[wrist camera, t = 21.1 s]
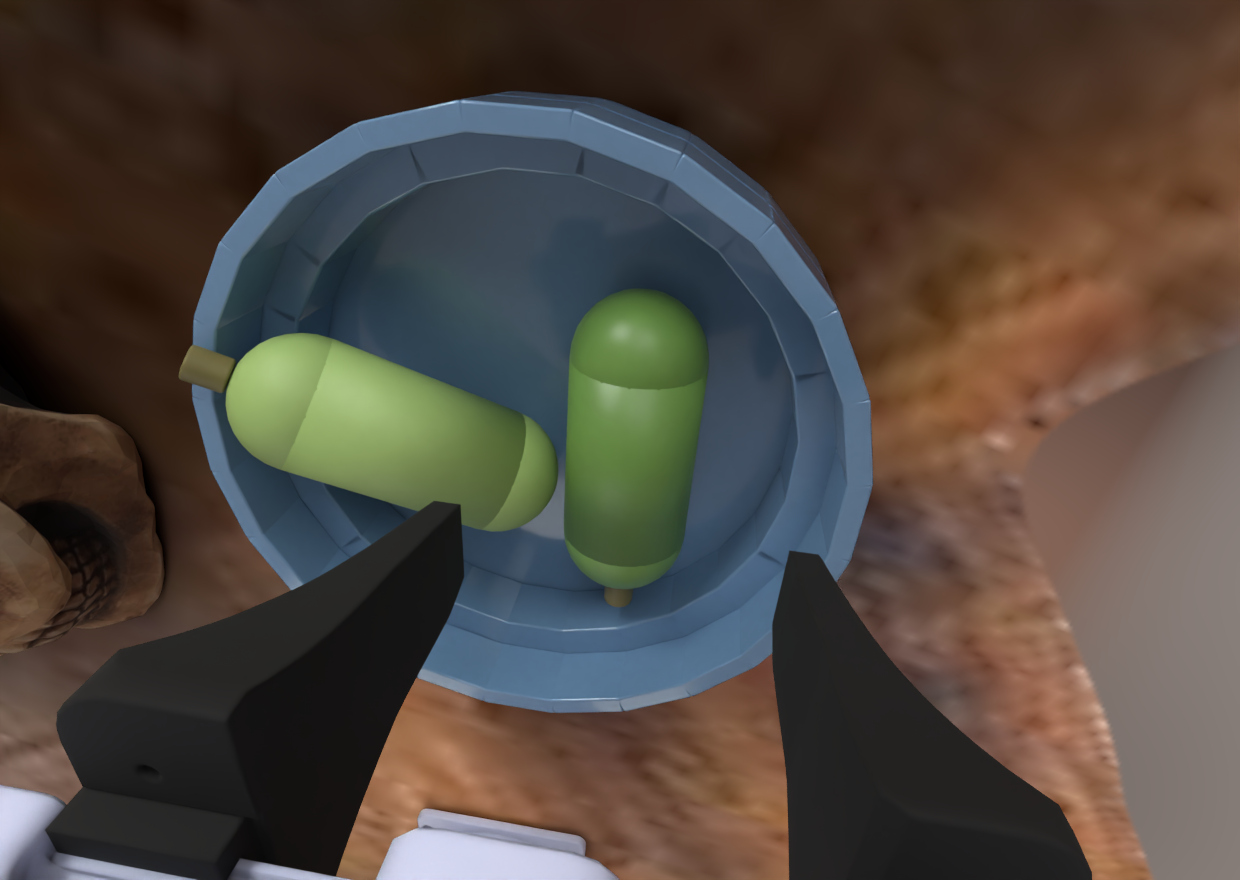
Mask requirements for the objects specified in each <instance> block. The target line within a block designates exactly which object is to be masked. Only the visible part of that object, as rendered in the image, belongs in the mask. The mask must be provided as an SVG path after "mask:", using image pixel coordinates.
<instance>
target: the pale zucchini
mask: <svg viewBox="0 0 1240 880" xmlns="http://www.w3.org/2000/svg"><path fill="white" fill-rule="evenodd" d="M235 365H236V360H235V359H233V358H230V357H228V356H225V355H222V354H219V353H216V352H214V351H211V350H208V349H205V348H202V347H200V346H197V345H192V346H191V347H190V348H189V350H188V352H187V354H186V356H185V358H184V360H183V363H182V366H181V368H180V371H179V379H181V380H183V381H186V382H189V383H192V384H195V385H198V386H201V387H204V388H207V389H209V390H212V391H215V392H218V393H223V392H224V391H225V390H226V387H227V390H226V411H227V417H228V421H229V423H230V426H231V428H232V430H233V433H234V434H235V436H236V437H237V439H238V440H239V442H240V443H241V445H242V446H243V447H244V448H245V449H246V450H247V451H249V452H250V453H251V454H252V455H253V456H254V457H256V458H257V459H259V460H260V461H262V462H264V463H265V464H267V465H270V466H272V467H275V468H277V469H280V470H283V471H286V472H289V473H293V474H296V475H299V476H303V477H306V478H309V479H313V480H316V481H319V482H323V483H326V484H329V485H333V486H336V487H339V488H343V489H346V490H349V491H353V492H356V493H359V494H362V495H366V496H369V497H372V498H376V499H379V500H382V501H386V502H389V503H392V504H396V505H399V506H402V507H406V508H409V509H412V510H416V511H420V510H421V509H423V508H424V507H426V506H427V505H429V504H430V503H432V502H433V501H439V502H447V503H454V504H461V521H462V525H465V526H469V527H472V528H475V529H480V530H486V531H491V532H495V531H507V530H511V529H515V528H518V527H520V526H522V525H524V524H527V523H528V522H530V521H531V520H533V519H534V518H535V517H536V516H538V515H539V514H540V513H541V512H542V511H543V510H544V508H545V507H546V506H547V504H548V503H549V501H550V500H551V498H552V496H553V494H554V492H555V489H556V485H557V481H558V459H557V454H556V450H555V448H554V445H553V443H552V441H551V439H550V437H549V436H548V435H547V434H546V432H545V431H544V430H543V429H542V427H541V426H540V425H539V424H537V423H536V422H535V421H534V420H533V419H531V418H530V417H528V416H526V415H524V414H522V413H520V412H518V411H515V410H512V409H510V408H507V407H505V406H502V405H500V404H497V403H495V402H492V401H490V400H487V399H485V398H482V397H480V396H477V395H474V394H472V393H469V392H467V391H464V390H462V389H459V388H457V387H454V386H452V385H449V384H447V383H444V382H441V381H439V380H436V379H434V378H431V377H429V376H426V375H424V374H421V373H419V372H416V371H414V370H411V369H409V368H406V367H403V366H401V365H398V364H396V363H393V362H391V361H388V360H386V359H383V358H381V357H378V356H376V355H373V354H371V353H368V352H365V351H363V350H360V349H358V348H355V347H353V346H350V345H348V344H345V343H343V342H340V341H338V340H335V339H332V338H328V337H325V336H322V335H318V334H310V333H291V334H284V335H281V336H277V337H273V338H271V339H268V340H266V341H264V342H262V343H260V344H258V345H257V346H256V347H254V348H253V349H252V350H250V351H249V352H248V353H246V355H245V356H244V357H243V358H242V359H241V360H240V362H239V363H238V364H237V365H236V367H235ZM234 368H235V369H234ZM227 385H228V386H227Z"/></svg>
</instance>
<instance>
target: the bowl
mask: <svg viewBox="0 0 1240 880" xmlns="http://www.w3.org/2000/svg"><path fill="white" fill-rule="evenodd" d="M635 288H641V289H652V290H657V291H661V292H664V293H666V294H668V295H670V296H672V297H674V298H675V299H677V300H679V301H680V302H682V303H683V304H684V305H685V306H686V307H687V308H688V309H689V310H690V311H692V313H693V314H694V316H695V317H696V319H697V320H698V322H699V323H700V325H701V326H702V329H703V331H704V334H705V336H706V340H707V345H708V351H709V369H708V375H707V382H706V389H705V396H704V403H703V410H702V417H701V424H700V431H699V438H698V445H697V452H696V459H695V466H694V473H693V480H692V487H691V494H690V501H689V508H688V515H687V522H686V529H685V537H684V541H683V544H682V547H681V551H680V554H679V555H678V557H677V559H676V561H675V562H674V564H673V565H672V567H671V568H670V569H669V570H668V571H667V572H666V573H665V574H664V575H662V576H661V577H660V578H659V579H657V580H655V581H653V582H652V583H650V584H648V585H645V586H642V587H639V588H634V589H633V596H632V600H631V602H630V603H629V604H628V605H627V606H624V607H613V606H611V605H609V604H608V603H607V602H606V601H605V599H604V588H605V586H603V585H601V584H598V583H597V582H595V581H593V580H592V579H590V578H589V577H588V576H586V575H585V574H584V573H583V572H582V571H580V569H579V568H578V567H577V565H576V564H575V563H574V561H573V560H572V558H571V556H570V554H569V552H568V549H567V546H566V543H565V537H564V526H563V525H564V497H565V469H566V440H567V412H568V383H569V356H570V349H571V343H572V340H573V337H574V334H575V331H576V328H577V326H578V325H579V323H580V321H581V320H582V318H583V317H584V315H585V314H586V313H587V312H588V311H589V310H590V309H591V308H592V307H593V306H594V305H595V304H596V303H597V302H599V301H601V300H602V299H604V298H605V297H607V296H609V295H611V294H614V293H617V292H620V291H623V290H626V289H635ZM291 333H310V334H318V335H322V336H325V337H328V338H332V339H335V340H338V341H340V342H343V343H345V344H348V345H350V346H353V347H355V348H358V349H360V350H363V351H365V352H368V353H371V354H373V355H376V356H378V357H381V358H383V359H386V360H388V361H391V362H393V363H396V364H398V365H401V366H403V367H406V368H409V369H411V370H414V371H416V372H419V373H421V374H424V375H426V376H429V377H431V378H434V379H436V380H439V381H441V382H444V383H447V384H449V385H452V386H454V387H457V388H459V389H462V390H464V391H467V392H469V393H472V394H474V395H477V396H480V397H482V398H485V399H487V400H490V401H492V402H495V403H497V404H500V405H502V406H505V407H507V408H510V409H512V410H515V411H518V412H520V413H522V414H524V415H526V416H528V417H530V418H531V419H533V420H534V421H535V422H536V423H537V424H539V425H540V426H541V427H542V429H543V430H544V431H545V432H546V434H547V435H548V436H549V437H550V439H551V441H552V443H553V445H554V448H555V450H556V454H557V459H558V481H557V485H556V489H555V492H554V494H553V496H552V498H551V500H550V501H549V503H548V504H547V506H546V507H545V508H544V510H543V511H542V512H541V513H540V514H539V515H538V516H536V517H535V518H534V519H533V520H531V521H530V522H528V523H527V524H524V525H522V526H520V527H518V528H515V529H511V530H507V531H495V532H491V531H486V530H480V529H475V528H472V527H469V526H465V525H462V540H463V559H464V579H463V582H462V585H461V587H460V590H459V593H458V596H457V598H456V601H455V603H454V606H453V609H452V611H451V614H450V616H449V618H448V620H447V622H446V624H445V626H444V628H443V629H442V631H441V633H440V635H439V637H438V639H437V641H436V643H435V644H434V646H433V648H432V650H431V652H430V654H429V656H428V657H427V659H426V661H425V663H424V665H423V667H422V668H421V670H420V672H419V674H418V676H417V678H418V679H421V680H424V681H427V682H430V683H433V684H435V685H438V686H441V687H444V688H447V689H450V690H452V691H455V692H458V693H461V694H464V695H467V696H470V697H472V698H475V699H478V700H481V701H483V700H484V701H485V702H489V703H495V704H501V705H507V706H513V707H519V708H525V709H531V710H537V711H543V712H549V713H553V712H554V713H586V712H622V711H623V710H624V711H630V710H634V709H639V708H643V707H648V706H652V705H657V704H661V703H666V702H670V701H675V700H679V699H684V698H688V697H691V696H695V695H697V694H699V693H701V692H703V691H706V690H708V689H710V688H712V687H714V686H716V685H718V684H720V683H723V682H725V681H727V680H729V679H731V678H733V677H735V676H737V675H740V674H742V673H744V672H746V671H748V670H750V669H752V668H754V667H756V666H757V665H758V664H760V663H761V662H762V661H763V660H765V659H766V658H767V657H768V656H769V655H771V654H772V622H773V618H774V613H775V609H776V605H777V601H778V597H779V592H780V588H781V584H782V580H783V575H784V571H785V567H786V563H787V559H788V554H789V550H790V551H797V552H804V553H811V554H819V556H820V557H821V558H822V560H823V561H824V563H825V565H826V566H827V568H828V570H829V571H830V573H831V575H832V576H833V578H834V580H835V581H836V582H837V580H838V579H839V577H840V576H841V575H842V573H843V572H844V570H845V569H846V567H847V566H848V564H849V562H850V560H851V558H852V555H853V552H854V548H855V545H856V542H857V538H858V535H859V531H860V528H861V525H862V521H863V518H864V515H865V511H866V508H867V504H868V501H869V498H870V494H871V491H872V485H873V461H872V427H871V401H870V398H869V397H870V396H869V393H868V390H867V387H866V385H865V382H864V379H863V376H862V373H861V371H860V368H859V365H858V362H857V359H856V356H855V354H854V351H853V348H852V345H851V342H850V339H849V337H848V334H847V331H846V328H845V325H844V323H843V320H842V317H841V314H840V311H839V309H838V306H837V304H836V302H835V299H834V297H833V295H832V292H831V290H830V287H829V285H828V283H827V281H826V278H825V276H824V273H823V271H822V269H821V266H820V264H819V262H818V260H817V258H816V257H815V255H814V254H813V253H812V251H811V250H810V248H809V247H808V246H807V244H806V243H805V242H804V240H803V239H802V238H801V236H800V235H799V233H798V232H797V231H796V229H795V228H794V227H793V225H792V224H791V222H790V221H789V220H788V218H787V217H786V216H785V214H784V213H783V212H782V210H781V209H780V207H779V206H778V205H777V203H776V202H775V201H774V199H773V198H772V197H771V195H770V194H769V192H768V191H765V190H764V188H763V187H762V186H761V185H760V184H758V183H757V182H756V181H754V180H753V179H752V178H751V177H749V176H748V175H747V174H745V173H744V172H743V171H741V170H740V169H739V168H738V167H736V166H735V165H734V164H732V163H731V162H730V161H729V160H727V159H726V158H725V157H723V156H722V155H721V154H719V153H718V152H717V151H716V150H714V149H713V148H712V147H710V146H709V145H708V144H706V143H705V142H704V141H703V140H701V139H700V138H699V137H697V136H696V135H692V136H691V133H690V132H689V131H687V130H684V129H682V128H679V127H677V126H674V125H671V124H669V123H666V122H664V121H661V120H659V119H656V118H654V117H651V116H649V115H646V114H644V113H641V112H638V111H636V110H633V109H631V108H628V107H626V106H623V105H621V104H618V103H616V102H613V101H610V100H604V99H602V98H594V97H583V96H571V95H559V94H548V93H536V92H524V91H513V92H512V91H508V92H502V93H496V94H490V95H484V96H478V97H471V98H465V99H459V100H454V101H449V102H445V103H440V104H436V105H431V106H427V107H422V108H418V109H413V110H409V111H405V112H400V113H396V114H391V115H387V116H382V117H378V118H373V119H369V120H364V121H360V122H358V123H355V124H352V125H351V126H349V127H348V128H346V129H344V130H343V131H341V132H339V133H338V134H336V135H335V136H333V137H331V138H330V139H328V140H326V141H325V142H323V143H321V144H320V145H318V146H317V147H315V148H313V149H312V150H310V151H308V152H307V153H305V154H304V155H302V156H300V157H299V158H297V159H295V160H294V161H292V162H291V163H289V164H287V165H286V166H284V167H282V168H281V169H279V170H278V171H276V173H275V174H273V175H272V176H271V178H270V179H269V180H268V181H267V183H266V184H265V185H264V186H263V188H262V189H261V190H260V192H259V193H258V194H257V195H256V197H255V198H254V199H253V200H252V202H251V203H250V204H249V205H248V207H247V208H246V209H245V210H244V212H243V213H242V214H241V215H240V217H239V218H238V219H237V220H236V222H235V223H234V224H233V225H232V227H231V228H230V229H229V230H228V232H227V233H226V234H225V235H224V237H223V238H222V240H221V242H220V243H219V244H218V247H217V250H216V253H215V256H214V259H213V262H212V265H211V268H210V271H209V274H208V276H207V279H206V282H205V285H204V288H203V291H202V294H201V297H200V300H199V303H198V306H197V309H196V311H195V314H194V321H193V345H197V346H200V347H202V348H205V349H208V350H211V351H214V352H216V353H219V354H222V355H225V356H228V357H230V358H233V359H235V360H236V365H237V364H238V363H239V362H240V360H241V359H242V358H243V357H244V356H245V355H246V353H248V352H249V351H250V350H252V349H253V348H254V347H256V346H257V345H258V344H260V343H262V342H264V341H266V340H268V339H271V338H273V337H277V336H281V335H284V334H291ZM236 365H235V367H236ZM234 369H235V368H234ZM227 386H228V385H227ZM226 390H227V387H226ZM226 390H225V391H224V392H223V393H218V392H215V391H212V390H209V389H207V388H204V387H201V386H198V385H195V384H192V396H193V398H192V400H193V404H194V408H195V412H196V416H197V419H198V423H199V427H200V431H201V435H202V438H203V442H204V446H205V450H206V454H207V458H208V461H209V465H210V469H211V471H213V472H212V473H213V475H214V477H215V479H216V481H217V483H218V485H219V487H220V488H221V490H222V492H223V494H224V496H225V498H226V500H227V502H228V503H229V505H230V507H231V509H232V511H233V513H234V515H235V516H236V518H237V520H238V522H239V524H240V526H241V528H242V530H243V531H244V533H245V535H246V537H248V539H249V541H250V542H251V543H252V545H253V546H254V547H255V548H256V549H257V551H258V552H259V553H260V554H261V555H262V556H263V558H264V559H265V560H266V561H267V562H268V564H269V565H270V566H271V567H272V568H273V570H274V571H275V572H276V573H277V574H278V575H279V577H280V578H281V579H282V580H283V581H284V583H285V584H286V585H287V586H288V587H289V589H290V590H293V589H295V588H297V587H299V586H301V585H303V584H305V583H307V582H309V581H311V580H313V579H315V578H317V577H319V576H320V575H322V574H324V573H326V572H328V571H329V570H331V569H333V568H334V567H336V566H338V565H339V564H341V563H342V562H344V561H346V560H347V559H349V558H351V557H352V556H354V555H355V554H357V553H359V552H360V551H362V550H364V549H365V548H367V547H368V546H370V545H371V544H373V543H374V542H376V541H377V540H379V539H380V538H381V537H383V536H384V535H386V534H387V533H389V532H390V531H392V530H393V529H395V528H396V527H397V526H399V525H400V524H402V523H403V522H404V521H406V520H407V519H409V518H410V517H411V516H413V515H414V514H416V513H417V512H418V511H416V510H412V509H409V508H406V507H402V506H399V505H396V504H392V503H389V502H386V501H382V500H379V499H376V498H372V497H369V496H366V495H362V494H359V493H356V492H353V491H349V490H346V489H343V488H339V487H336V486H333V485H329V484H326V483H323V482H319V481H316V480H313V479H309V478H306V477H303V476H299V475H296V474H293V473H289V472H286V471H283V470H280V469H277V468H275V467H272V466H270V465H267V464H265V463H264V462H262V461H260V460H259V459H257V458H256V457H254V456H253V455H252V454H251V453H250V452H249V451H247V450H246V449H245V448H244V447H243V446H242V445H241V443H240V442H239V440H238V439H237V437H236V436H235V434H234V433H233V430H232V428H231V426H230V423H229V421H228V417H227V411H226Z"/></svg>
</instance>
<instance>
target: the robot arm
mask: <svg viewBox="0 0 1240 880" xmlns="http://www.w3.org/2000/svg"><path fill="white" fill-rule="evenodd" d="M463 579H464V559H463V540H462V521H461V504H454V503H447V502H439V501H433V502H432V503H430V504H429V505H427V506H426V507H424V508H423V509H421V510H420V511H418V512H417V513H416V514H414V515H413V516H411V517H410V518H409V519H407V520H406V521H404V522H403V523H402V524H400V525H399V526H397V527H396V528H395V529H393V530H392V531H390V532H389V533H387V534H386V535H384V536H383V537H381V538H380V539H379V540H377V541H376V542H374V543H373V544H371V545H370V546H368V547H367V548H365V549H364V550H362V551H360V552H359V553H357V554H355V555H354V556H352V557H351V558H349V559H347V560H346V561H344V562H342V563H341V564H339V565H338V566H336V567H334V568H333V569H331V570H329V571H328V572H326V573H324V574H322V575H320V576H319V577H317V578H315V579H313V580H311V581H309V582H307V583H305V584H303V585H301V586H299V587H297V588H295V589H293V590H291V591H289V592H287V593H285V594H283V595H281V596H279V597H276V598H274V599H272V600H269V601H267V602H265V603H262V604H260V605H257V606H255V607H253V608H250V609H248V610H246V611H243V612H241V613H238V614H236V615H233V616H231V617H228V618H225V619H222V620H219V621H217V622H214V623H211V624H208V625H205V626H202V627H199V628H196V629H193V630H190V631H186V632H183V633H180V634H177V635H173V636H169V637H166V638H162V639H158V640H154V641H151V642H147V643H143V644H140V645H136V646H132V647H128V648H124V649H120V650H118V651H117V652H116V653H115V654H114V655H113V656H112V657H111V658H110V659H109V660H108V661H107V662H106V663H105V664H104V665H103V666H102V667H100V668H99V669H98V670H97V671H96V672H95V673H94V674H93V675H92V676H91V677H90V678H89V679H88V680H87V681H86V682H85V683H84V684H83V685H82V686H81V687H80V688H79V689H78V690H77V691H76V692H75V693H73V694H72V695H71V696H70V697H69V698H68V699H67V700H66V701H65V702H64V703H63V705H62V706H61V708H60V709H59V711H58V712H57V722H56V726H57V731H58V734H59V738H60V741H61V743H62V745H63V747H64V749H65V751H66V753H67V755H68V757H69V760H70V762H71V764H72V766H73V768H74V770H75V772H76V774H77V776H78V778H79V780H80V782H81V784H82V786H83V788H82V789H81V790H80V791H79V792H78V793H77V794H76V795H75V797H74V798H73V799H72V800H71V801H70V802H69V803H68V804H67V805H66V804H65V803H64V802H63V801H62V800H60V799H58V798H57V797H55V796H52V795H49V794H46V793H42V792H36V791H31V790H25V789H20V788H15V787H9V786H4V785H0V880H351V879H346V878H340V877H336V874H337V871H338V868H339V865H340V862H341V859H342V856H343V853H344V850H345V847H346V845H347V842H348V839H349V836H350V834H351V831H352V828H353V825H354V823H355V820H356V817H357V814H358V812H359V809H360V806H361V803H362V801H363V798H364V795H365V793H366V790H367V788H368V785H369V783H370V780H371V777H372V775H373V772H374V770H375V767H376V765H377V762H378V759H379V757H380V755H381V752H382V750H383V747H384V745H385V742H386V740H387V738H388V735H389V733H390V730H391V728H392V726H393V723H394V721H395V718H396V716H397V714H398V712H399V710H400V708H401V706H402V704H403V702H404V700H405V698H406V696H407V694H408V692H409V690H410V689H411V687H412V685H413V683H414V681H415V679H416V678H417V676H418V674H419V672H420V670H421V668H422V667H423V665H424V663H425V661H426V659H427V657H428V656H429V654H430V652H431V650H432V648H433V646H434V644H435V643H436V641H437V639H438V637H439V635H440V633H441V631H442V629H443V628H444V626H445V624H446V622H447V620H448V618H449V616H450V614H451V611H452V609H453V606H454V603H455V601H456V598H457V596H458V593H459V590H460V587H461V585H462V582H463ZM772 659H773V673H774V681H775V689H776V697H777V705H778V712H779V719H780V727H781V734H782V742H783V749H784V757H785V766H786V777H787V797H788V829H789V880H1092V872H1091V870H1090V867H1089V865H1088V863H1087V861H1086V858H1085V856H1084V854H1083V852H1082V849H1081V847H1080V845H1079V842H1078V840H1077V838H1076V836H1075V834H1074V832H1073V830H1072V828H1071V826H1070V825H1069V823H1068V821H1067V819H1066V817H1065V816H1064V814H1063V812H1062V810H1061V808H1060V806H1059V805H1058V804H1057V803H1055V802H1054V801H1052V800H1051V799H1050V798H1048V797H1047V796H1045V795H1044V794H1042V793H1041V792H1040V791H1038V790H1037V789H1035V788H1034V787H1032V786H1031V785H1030V784H1028V783H1027V782H1025V781H1024V780H1022V779H1021V778H1020V777H1018V776H1017V775H1015V774H1014V773H1012V772H1011V771H1010V770H1008V769H1007V768H1006V767H1004V766H1003V765H1002V764H1000V763H999V762H998V761H997V760H995V759H994V758H993V757H992V756H990V755H989V754H988V753H987V752H985V751H984V750H983V749H981V748H980V747H979V746H978V745H976V744H975V743H974V742H973V741H972V740H971V739H969V738H968V737H967V736H966V735H965V734H964V733H962V732H961V731H960V730H959V729H958V728H957V727H956V726H955V725H953V724H952V723H951V722H950V721H949V720H948V719H947V718H946V717H945V716H944V715H943V714H942V713H940V712H939V711H938V710H937V709H936V708H935V707H934V706H933V705H932V704H931V703H930V702H929V701H928V700H927V699H926V698H925V697H924V696H923V695H922V694H921V693H920V692H919V691H918V690H917V689H916V688H915V687H914V686H913V684H912V683H911V682H910V681H909V680H908V679H907V678H906V677H905V676H904V675H903V674H902V673H901V671H900V670H899V669H898V668H897V667H896V666H895V665H894V663H893V662H892V661H891V660H890V658H889V657H888V656H887V655H886V653H885V652H884V651H883V650H882V648H881V647H880V646H879V644H878V643H877V642H876V641H875V639H874V638H873V636H872V635H871V634H870V632H869V631H868V630H867V628H866V627H865V625H864V624H863V622H862V621H861V620H860V618H859V617H858V615H857V614H856V612H855V611H854V610H853V608H852V607H851V605H850V603H849V602H848V600H847V599H846V597H845V596H844V594H843V593H842V591H841V589H840V588H839V586H838V585H837V583H836V581H835V580H834V578H833V576H832V575H831V573H830V571H829V570H828V568H827V566H826V565H825V563H824V561H823V560H822V558H821V557H820V556H819V554H811V553H804V552H797V551H790V550H789V554H788V559H787V563H786V567H785V571H784V575H783V580H782V584H781V588H780V592H779V597H778V601H777V605H776V609H775V613H774V618H773V622H772ZM417 820H418V828H416V829H414V830H411V831H409V832H407V833H405V834H403V835H401V836H399V837H397V838H395V839H393V841H392V843H391V846H390V848H389V850H388V852H387V855H386V857H385V859H384V862H383V864H382V866H381V869H380V871H379V873H378V876H377V878H376V880H619V878H618V877H617V876H616V875H615V874H614V873H612V872H611V871H610V870H609V869H607V868H606V867H605V866H604V865H602V864H601V863H600V862H599V861H597V860H594V859H591V858H588V857H585V850H586V842H585V840H584V839H583V838H582V837H580V836H577V835H573V834H567V833H562V832H556V831H551V830H545V829H539V828H534V827H528V826H523V825H517V824H512V823H506V822H501V821H495V820H490V819H484V818H479V817H473V816H468V815H462V814H457V813H451V812H446V811H440V810H434V809H427V808H426V809H423V810H421V811H420V814H419V816H418V819H417Z"/></svg>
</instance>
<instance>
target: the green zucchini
mask: <svg viewBox="0 0 1240 880" xmlns="http://www.w3.org/2000/svg"><path fill="white" fill-rule="evenodd" d="M708 369H709V351H708V345H707V340H706V336H705V334H704V331H703V329H702V326H701V325H700V323H699V322H698V320H697V319H696V317H695V316H694V314H693V313H692V311H690V310H689V309H688V308H687V307H686V306H685V305H684V304H683V303H682V302H680V301H679V300H677V299H675V298H674V297H672V296H670V295H668V294H666V293H664V292H661V291H657V290H652V289H641V288H635V289H626V290H623V291H620V292H617V293H614V294H611V295H609V296H607V297H605V298H604V299H602V300H601V301H599V302H597V303H596V304H595V305H594V306H593V307H592V308H591V309H590V310H589V311H588V312H587V313H586V314H585V315H584V317H583V318H582V320H581V321H580V323H579V325H578V326H577V328H576V331H575V334H574V337H573V340H572V343H571V349H570V356H569V383H568V412H567V440H566V469H565V497H564V525H563V526H564V537H565V543H566V546H567V549H568V552H569V554H570V556H571V558H572V560H573V561H574V563H575V564H576V565H577V567H578V568H579V569H580V571H582V572H583V573H584V574H585V575H586V576H588V577H589V578H590V579H592V580H593V581H595V582H597V583H598V584H601V585H603V586H605V588H604V599H605V601H606V602H607V603H608V604H609V605H611V606H613V607H624V606H627V605H628V604H629V603H630V602H631V600H632V596H633V589H634V588H639V587H642V586H645V585H648V584H650V583H652V582H653V581H655V580H657V579H659V578H660V577H661V576H662V575H664V574H665V573H666V572H667V571H668V570H669V569H670V568H671V567H672V565H673V564H674V562H675V561H676V559H677V557H678V555H679V554H680V551H681V547H682V544H683V541H684V537H685V529H686V522H687V515H688V508H689V501H690V494H691V487H692V480H693V473H694V466H695V459H696V452H697V445H698V438H699V431H700V424H701V417H702V410H703V403H704V396H705V389H706V382H707V375H708Z"/></svg>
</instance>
